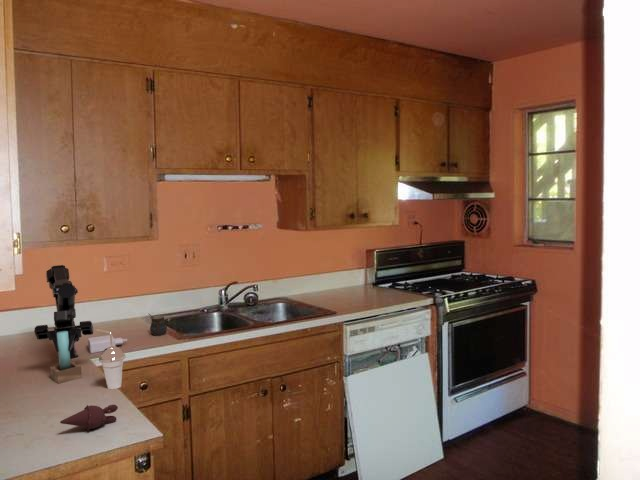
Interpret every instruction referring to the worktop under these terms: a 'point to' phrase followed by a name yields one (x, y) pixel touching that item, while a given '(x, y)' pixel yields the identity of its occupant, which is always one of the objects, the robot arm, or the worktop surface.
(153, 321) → the mate gourd
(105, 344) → the lavender nozzle bottle
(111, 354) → the cup with straw
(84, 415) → the icecream
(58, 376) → the socket block
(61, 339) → the peg
